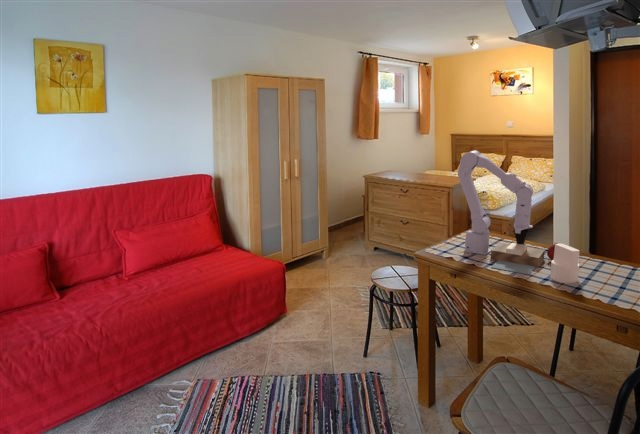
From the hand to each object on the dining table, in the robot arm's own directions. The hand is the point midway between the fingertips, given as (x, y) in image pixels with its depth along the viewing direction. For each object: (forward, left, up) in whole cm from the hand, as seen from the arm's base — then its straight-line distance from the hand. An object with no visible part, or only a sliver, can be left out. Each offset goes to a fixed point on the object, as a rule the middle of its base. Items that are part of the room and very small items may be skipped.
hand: (520, 246), depth 185 cm
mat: (+1, -14, -5) cm, 15 cm away
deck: (0, -3, -5) cm, 6 cm away
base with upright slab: (+19, -16, -5) cm, 26 cm away
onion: (+13, +2, -5) cm, 14 cm away
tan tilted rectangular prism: (0, -5, -1) cm, 5 cm away
